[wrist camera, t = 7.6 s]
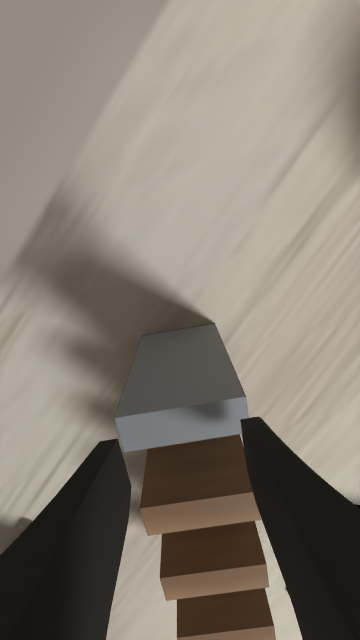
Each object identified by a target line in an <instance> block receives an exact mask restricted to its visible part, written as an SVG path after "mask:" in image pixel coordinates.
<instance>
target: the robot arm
mask: <svg viewBox="0 0 360 640" xmlns="http://www.w3.org/2000/svg"><path fill="white" fill-rule="evenodd" d="M240 422H241V429H242V437H243V444H244V452H245V459H246V466H247V472H248V475H249V479H250V483H251V487H252V491H253V494H254V498H255V502H256V505H257V507H258V510H259V513H260V516H261V518H262V521H263V524H264V527H265V529H266V532H267V535H268V538H269V540H270V543H271V546H272V548H273V551H274V554H275V557H276V559H277V562H278V565H279V567H280V570H281V573H282V576H283V578H284V581H285V584H286V587H287V589H288V592H289V596H290V599H291V602H292V605H293V608H294V611H295V614H296V618H297V621H298V624H299V628H300V631H301V635H302V638H303V640H360V509H359V508H358V507H357V506H355V505H354V504H353V503H352V502H350V501H349V500H348V499H347V498H345V497H344V496H343V495H342V494H340V493H339V492H338V491H337V490H335V489H334V488H333V487H332V486H331V485H329V484H328V483H327V482H326V481H325V480H324V479H322V478H321V477H320V476H319V475H318V474H317V473H315V472H314V471H313V470H312V469H311V468H310V467H309V466H308V465H307V464H306V463H304V462H303V461H302V460H301V459H300V458H299V457H298V456H297V455H296V454H295V453H294V452H293V451H292V450H291V449H290V448H289V447H288V446H287V445H286V444H285V443H284V442H283V441H282V440H281V439H280V438H279V437H278V436H277V435H276V434H275V433H274V432H273V431H272V430H271V429H270V427H269V426H268V425H267V424H266V423H265V422H264V421H263V419H261V418H260V417H253V418H247V419H240ZM130 498H131V483H130V480H129V476H128V473H127V469H126V466H125V462H124V459H123V456H122V452H121V449H120V445H119V442H118V439H112V440H106V441H100V442H99V443H98V444H97V446H96V447H95V448H94V449H93V450H92V452H91V453H90V454H89V455H88V457H87V458H86V459H85V460H84V462H83V463H82V464H81V465H80V467H79V468H78V469H77V470H76V472H75V473H74V474H73V475H72V476H71V478H70V479H69V480H68V481H67V483H66V484H65V485H64V486H63V487H62V489H61V490H60V491H59V492H58V493H57V495H56V496H55V497H54V498H53V499H52V500H51V502H50V503H49V504H48V505H47V506H46V507H45V508H44V509H43V511H42V512H41V513H40V514H39V515H38V516H37V517H36V518H35V520H34V521H33V522H32V523H31V524H30V525H29V526H28V527H27V529H26V530H25V531H24V532H23V533H22V534H21V535H20V536H19V537H18V538H17V539H16V540H15V541H14V542H13V543H12V544H11V545H10V546H9V547H8V548H7V549H6V550H5V551H4V552H3V553H2V554H1V555H0V640H106V635H107V629H108V623H109V617H110V611H111V606H112V601H113V596H114V591H115V586H116V581H117V576H118V571H119V566H120V561H121V556H122V551H123V546H124V541H125V535H126V530H127V525H128V519H129V509H130Z"/></svg>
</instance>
